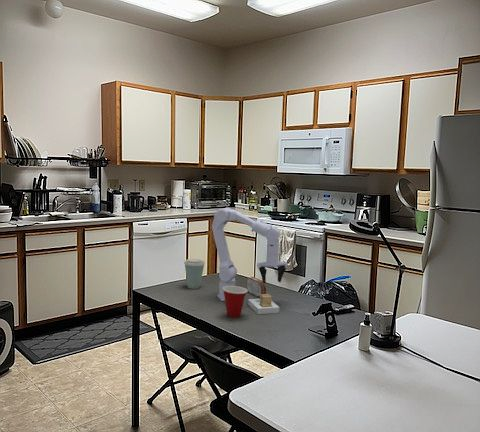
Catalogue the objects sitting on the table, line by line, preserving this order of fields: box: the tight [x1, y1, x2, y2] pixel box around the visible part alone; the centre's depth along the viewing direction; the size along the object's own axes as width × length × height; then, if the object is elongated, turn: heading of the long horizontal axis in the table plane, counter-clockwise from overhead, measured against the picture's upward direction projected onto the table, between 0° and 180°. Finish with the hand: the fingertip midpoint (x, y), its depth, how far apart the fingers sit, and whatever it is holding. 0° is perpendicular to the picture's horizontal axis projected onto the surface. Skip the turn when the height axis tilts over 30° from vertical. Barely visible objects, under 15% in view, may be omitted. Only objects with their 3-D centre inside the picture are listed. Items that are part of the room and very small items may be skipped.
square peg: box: [259, 293, 272, 307], centre depth 196 cm, size 4×4×7 cm
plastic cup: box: [223, 285, 249, 319], centre depth 188 cm, size 11×11×12 cm
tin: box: [246, 276, 267, 298], centre depth 220 cm, size 15×3×8 cm, turn 30°
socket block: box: [247, 298, 280, 315], centre depth 199 cm, size 14×10×2 cm
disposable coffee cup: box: [184, 258, 205, 290], centre depth 230 cm, size 11×11×15 cm
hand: (271, 282), depth 206 cm, fingers open, 7 cm apart
